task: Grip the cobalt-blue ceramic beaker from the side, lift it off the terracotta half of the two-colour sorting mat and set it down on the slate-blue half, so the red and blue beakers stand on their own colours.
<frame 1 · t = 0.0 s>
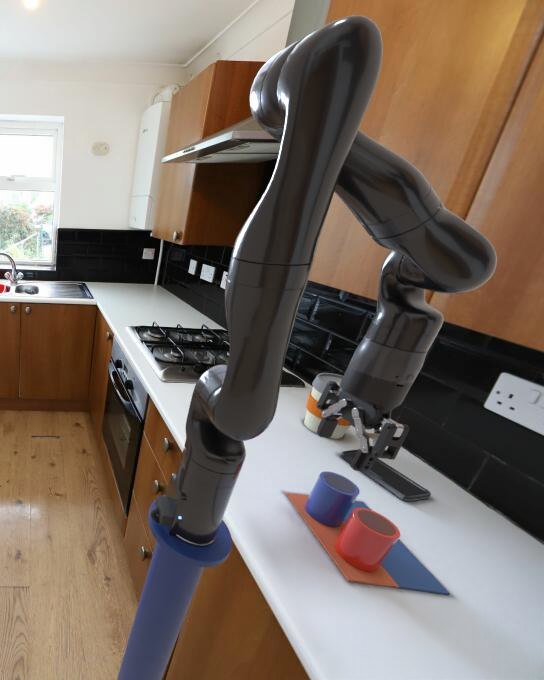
hand: (339, 451, 61), 19 cm above the worktop, tool pointing down, fingers open, 8 cm apart
phone: (380, 475, 84), on the worktop
sorting mat: (356, 537, 68), on the worktop
reusable coffee cup: (322, 429, 101), on the worktop
blue beaker: (322, 514, 72), resting on sorting mat
red beaker: (355, 555, 64), resting on sorting mat
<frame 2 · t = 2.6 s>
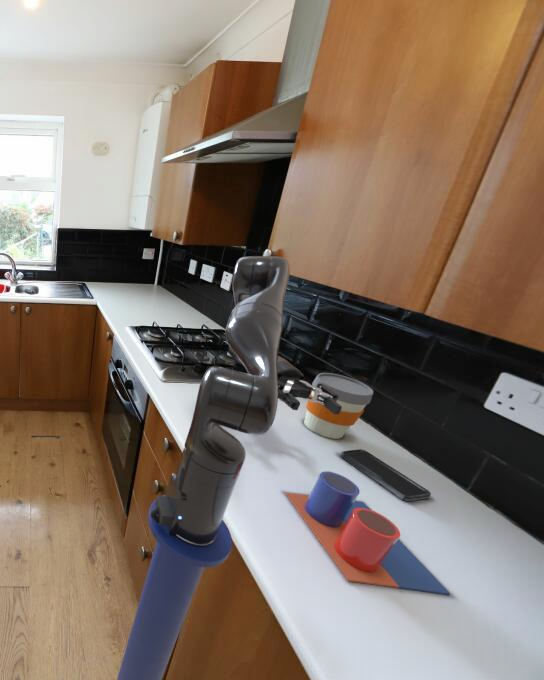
hand: (317, 409, 76), 18 cm above the worktop, tool horizontal, fingers open, 8 cm apart
nothing on the worktop moved.
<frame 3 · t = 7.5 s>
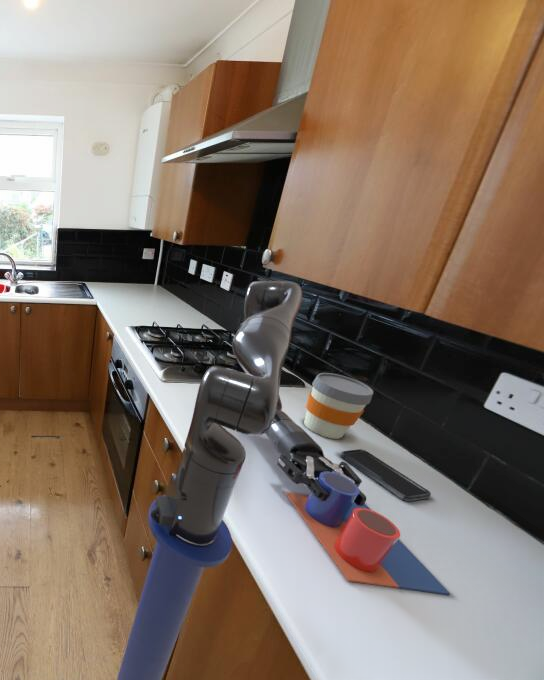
hand: (343, 500, 67), 7 cm above the worktop, tool horizontal, fingers closed on blue beaker, 6 cm apart
blue beaker: (322, 514, 72), resting on sorting mat, touching gripper
everything else where it was.
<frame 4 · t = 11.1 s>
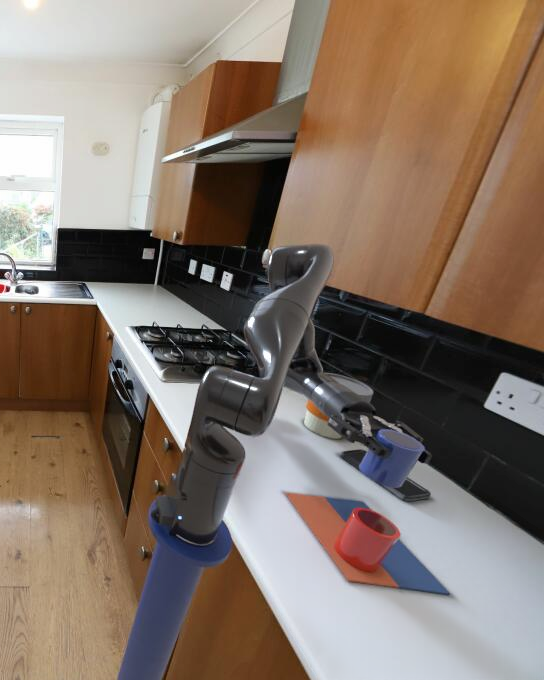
hand: (407, 457, 63), 18 cm above the worktop, tool horizontal, fingers closed on blue beaker, 6 cm apart
blue beaker: (379, 475, 67), point 12 cm above the worktop, touching gripper
everything else where it was.
when the fingers open (7 cm above the worktop, at t = 14.8 s): blue beaker stays where it is, resting on sorting mat.
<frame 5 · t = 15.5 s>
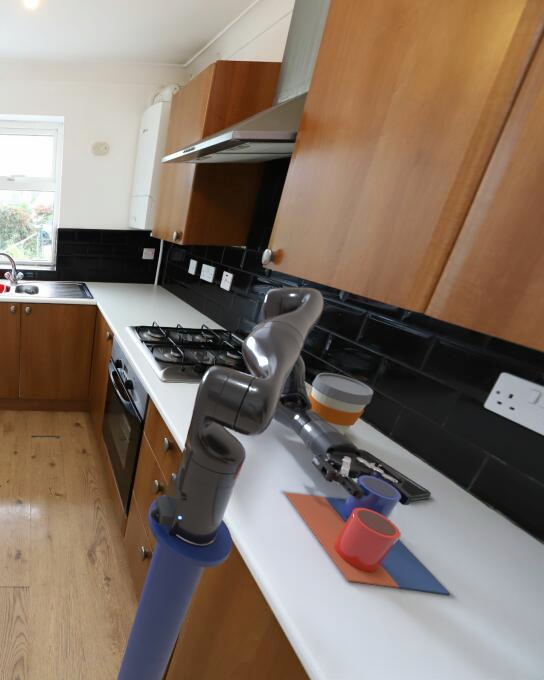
hand: (384, 499, 67), 8 cm above the worktop, tool horizontal, fingers open, 8 cm apart
blue beaker: (360, 518, 72), resting on sorting mat
everything else where it was.
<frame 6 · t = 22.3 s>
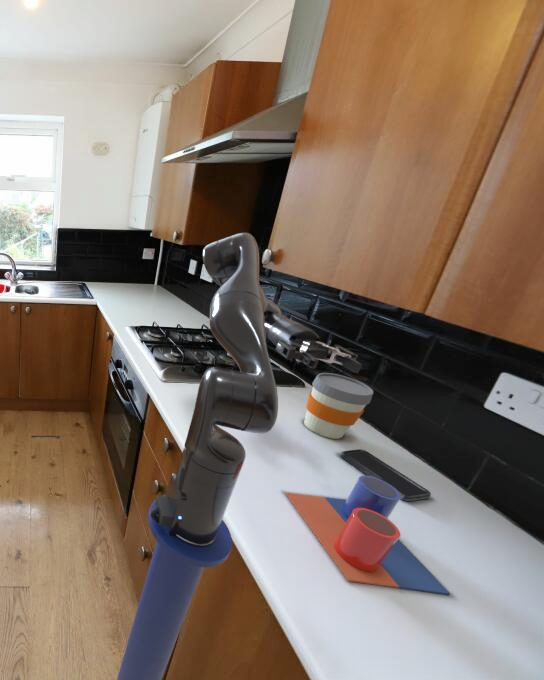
hand: (337, 366, 73), 28 cm above the worktop, tool horizontal, fingers open, 8 cm apart
nothing on the worktop moved.
at the end: blue beaker inside the target area (4.4 cm from its centre), resting on sorting mat; red beaker inside the target area (4.5 cm from its centre), resting on sorting mat; blue beaker tilted 0° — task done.
